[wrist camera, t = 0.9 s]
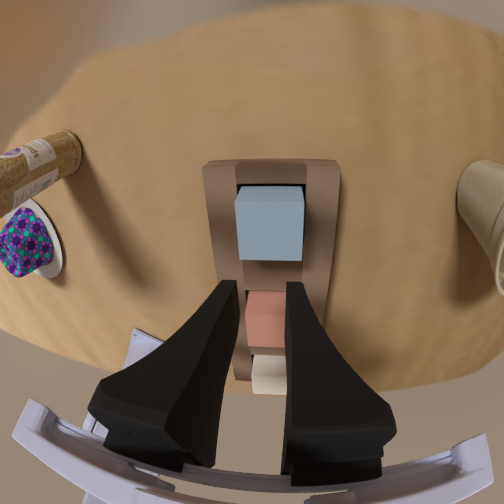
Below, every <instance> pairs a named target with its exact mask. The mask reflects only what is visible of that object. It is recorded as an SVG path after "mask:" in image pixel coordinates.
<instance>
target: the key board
mask: <svg viewBox="0 0 504 504" xmlns="http://www.w3.org/2000/svg"><path fill="white" fill-rule="evenodd" d="M340 170H341V167H340V166H339V165H338V163H337V162H336V161H335V160H317V159H241V160H219V161H209V162H208V163H207V164H206V165H205V166H204V167H203V168H202V172H203V180H204V188H205V196H206V204H207V212H208V219H209V226H210V234H211V241H212V247H213V254H214V261H215V267H216V274H217V280H218V284H219V282H220V281H221V280H237V289H238V298H239V306H240V322H239V329H238V336H237V340H236V344H235V347H234V351H233V355H232V359H231V360H232V365H233V370H234V375H235V380H241V381H252V378H251V373H252V366H253V359H254V355H273V356H285V348H281V347H256V346H248V341H247V331H246V321H245V310H246V305H247V300H248V294H249V290H262V291H286V281H294V282H302V283H303V284H304V288H305V291H306V294H307V296H308V299H309V301H310V304H311V306H312V308H313V310H314V312H315V314H316V316H317V318H318V320H319V322H320V323H321V325H322V322H323V316H324V310H325V305H326V298H327V292H328V286H329V279H330V272H331V265H332V257H333V249H334V240H335V231H336V222H337V211H338V199H339V186H340ZM255 183H292V184H304V223H303V245H302V261H283V260H240V259H239V248H238V237H237V225H236V214H235V200H236V198H237V195H238V193H239V191H240V189H241V184H255Z"/></svg>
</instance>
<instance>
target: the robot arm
mask: <svg viewBox="0 0 504 504" xmlns="http://www.w3.org/2000/svg"><path fill="white" fill-rule="evenodd" d="M239 322H240V306H239V298H238V289H237V280H221V281H220V282H219V284H218V285H217V286H216V288H215V289H214V290H213V292H212V293H211V294H210V295H209V297H208V298H207V299H206V300H205V302H204V303H203V304H202V305H201V306H200V307H199V309H198V310H197V311H196V312H195V313H194V314H193V315H192V316H191V317H190V318H189V319H188V320H187V321H186V323H185V324H184V325H183V326H182V327H181V328H180V329H179V330H177V331H176V332H175V333H174V334H173V335H172V336H171V337H170V338H168V339H167V340H166V341H165V342H162V341H160V340H158V339H156V338H154V337H152V336H150V335H148V334H146V333H144V332H142V331H140V330H138V329H134V330H133V331H132V335H131V340H130V344H129V349H128V353H127V357H126V359H125V361H124V363H123V365H122V367H121V370H120V371H119V372H117V373H115V374H113V375H111V376H108V377H106V378H104V379H102V380H101V381H100V383H99V384H98V386H97V388H96V390H95V393H94V394H93V396H92V399H91V401H90V403H89V405H88V411H89V412H88V414H87V417H86V419H85V422H84V424H83V427H82V428H80V427H77V426H76V425H74V424H72V423H70V422H68V421H66V420H64V419H62V418H60V417H58V416H57V415H56V414H55V413H54V412H52V410H50V409H49V408H48V407H46V406H45V405H43V404H42V403H40V402H38V401H37V400H35V399H33V398H29V400H28V402H27V404H26V406H25V408H24V410H23V412H22V414H21V416H20V419H19V421H18V423H17V425H16V427H15V429H14V431H13V433H12V437H13V438H14V439H15V440H16V441H17V442H19V443H20V444H21V445H22V446H24V447H25V448H26V449H27V450H29V451H30V452H31V453H32V454H34V455H35V456H36V457H38V458H39V459H40V460H41V461H42V462H44V463H45V464H46V465H48V466H49V467H50V468H52V469H53V470H55V471H56V472H57V473H59V474H60V475H62V476H63V477H65V478H66V479H68V480H69V481H71V482H72V483H74V484H75V485H77V486H78V487H80V488H82V489H83V490H85V491H86V493H85V496H84V499H83V502H82V504H235V503H228V502H221V501H215V500H209V499H204V498H199V497H194V496H189V495H185V494H181V493H177V492H174V491H175V486H174V485H173V484H170V483H168V482H165V481H163V480H160V479H159V478H158V477H159V476H160V474H161V475H164V476H168V477H172V478H176V479H180V480H184V481H189V482H193V483H198V484H203V485H208V486H214V487H220V488H227V489H235V490H245V491H255V492H271V493H315V492H330V491H341V490H348V491H346V492H339V493H331V494H323V495H313V496H311V497H310V498H309V499H306V500H305V501H304V504H454V503H456V502H458V501H460V500H462V499H464V498H466V497H468V496H470V495H472V494H474V493H476V492H478V491H480V490H482V489H483V488H485V487H487V486H489V485H490V484H492V483H493V481H494V479H493V471H492V464H491V459H490V453H489V448H488V443H487V439H486V434H485V433H481V434H479V435H476V436H474V437H471V438H469V439H466V440H464V441H462V442H460V443H458V444H457V445H455V446H454V447H452V449H450V450H447V451H444V452H441V453H438V454H435V455H432V456H428V457H425V458H421V459H418V460H414V461H410V462H405V463H401V464H397V465H392V466H387V467H382V465H381V457H383V455H384V452H383V446H384V445H385V444H386V443H387V442H389V441H390V440H391V439H392V438H393V437H394V436H395V434H396V432H397V430H396V423H395V419H394V416H393V413H392V410H391V407H390V405H389V404H388V403H387V402H386V401H385V400H383V399H382V398H381V397H380V396H379V395H378V394H377V393H376V392H374V391H373V390H372V389H371V388H370V387H369V386H368V385H367V384H366V383H365V382H364V381H363V380H362V379H361V378H360V377H359V376H358V374H357V373H356V372H355V371H354V370H353V369H352V368H351V367H350V365H349V364H348V363H347V362H346V361H345V359H344V358H343V357H342V356H341V354H340V353H339V352H338V350H337V349H336V347H335V346H334V345H333V343H332V342H331V340H330V339H329V337H328V335H327V334H326V332H325V330H324V329H323V327H322V325H321V323H320V322H319V320H318V318H317V316H316V314H315V312H314V310H313V308H312V306H311V304H310V301H309V299H308V296H307V294H306V291H305V288H304V284H303V283H302V282H294V281H286V305H285V331H284V341H285V358H286V376H287V396H286V414H285V427H284V428H285V429H284V441H283V452H282V463H281V473H280V475H267V474H252V473H242V472H233V471H225V470H218V469H212V468H211V467H213V466H214V465H215V458H216V447H217V437H218V428H219V420H220V413H221V406H222V399H223V393H224V386H225V382H226V377H227V373H228V370H229V366H230V362H231V359H232V355H233V351H234V347H235V344H236V340H237V336H238V329H239Z"/></svg>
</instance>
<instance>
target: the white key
mask: <svg viewBox="0 0 504 504" xmlns="http://www.w3.org/2000/svg"><path fill="white" fill-rule="evenodd" d="M251 378H252V387H253V393H256V394H276V395H287V376H286V358H285V356H273V355H254V359H253V366H252V373H251Z"/></svg>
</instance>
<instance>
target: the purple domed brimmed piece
mask: <svg viewBox="0 0 504 504" xmlns="http://www.w3.org/2000/svg"><path fill="white" fill-rule="evenodd" d="M21 206H26V207H29V208H31V209H32V210H34V211H35V212H36V213H37V214H38V215H39V216H40V217H41V219H42V220H43V221H44V223H45V224H44V223H43V221H42V220H41V219H40V218H37V217H36V216H35V214H34V212H33V211H32V210H31V209H29V208H26V209H25V210H22V209H21V208H20V209H18V208H19V207H21ZM17 209H18V210H17ZM16 210H17V211H16ZM45 225H46V226H47V228H48V230H49V232H50V235H51V237H52V240H51V238H50V237H49V236H48V234H47V230H46V226H45ZM52 241H53V243H52ZM53 244H54V258H53V256H52V253H51V250H52V249H53ZM52 258H53V261H52V262H51V263H50V264H48V265H45V264H47V263H49V262H50V261H51V260H52ZM0 260H1V262H2V263H3V264H4V265H5V267H6V269H7V270H8V271H9V272H10V273H12V274H13V275H14V276H15V277H18V278H19V277H23V276H25V275H27V274H29V273H31V272H32V271H33V272H35V273H36V274H38V275H40V276H42V277H45V278H54V277H56V276H57V275H58V274H59V273H60V271H61V269H62V252H61V247H60V244H59V240H58V238H57V235H56V233H55V230H54V228H53V226H52V224H51V223H50V221H49V219H48V218H47V216H46V215H45V213H44V212H43V211H42V209H41V208H40V207H39V206H38V205H37V204H36V203H35V202H34V201H33V200H32V199H29V200H27V201H26V202H24V203H23V204H21V205H20V206H18V207H17V208H16V209H14V210H13V211H11V212H10V213H8V214H6V215H5V226H4V228H3V229H2V230H1V232H0Z"/></svg>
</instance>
